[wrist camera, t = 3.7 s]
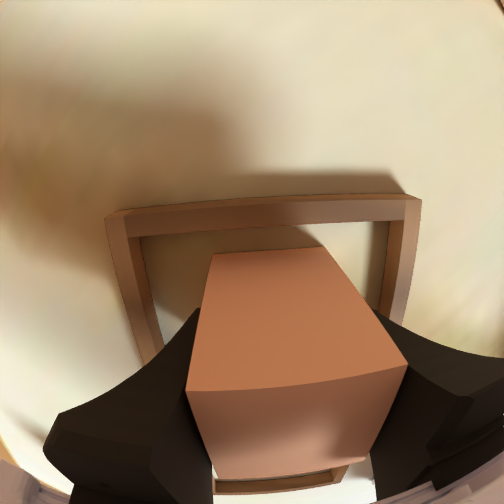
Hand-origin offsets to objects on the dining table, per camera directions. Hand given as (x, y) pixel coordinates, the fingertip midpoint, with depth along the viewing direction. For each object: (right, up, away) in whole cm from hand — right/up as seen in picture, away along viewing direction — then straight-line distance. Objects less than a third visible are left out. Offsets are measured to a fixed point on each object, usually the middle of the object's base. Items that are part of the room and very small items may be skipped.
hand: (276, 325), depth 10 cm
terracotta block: (0, +1, +2) cm, 2 cm away
